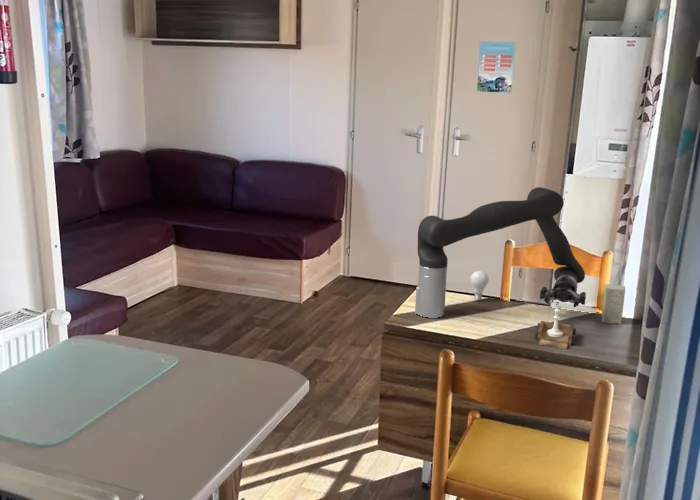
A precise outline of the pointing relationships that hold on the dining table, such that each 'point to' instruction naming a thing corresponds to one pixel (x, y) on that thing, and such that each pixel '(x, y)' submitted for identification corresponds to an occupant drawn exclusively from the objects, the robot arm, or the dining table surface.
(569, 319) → the dining table surface
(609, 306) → the skincare box
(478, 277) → the lightbulb
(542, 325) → the truck bed
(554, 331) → the chess piece
